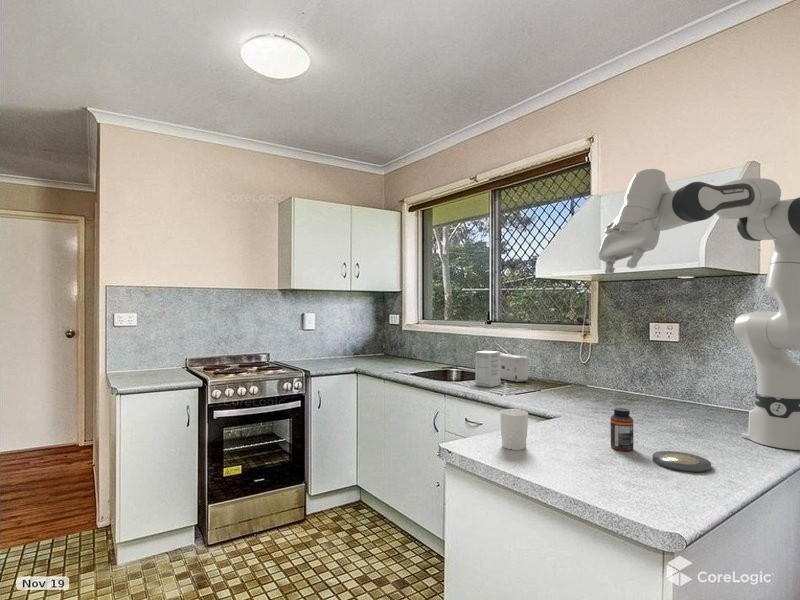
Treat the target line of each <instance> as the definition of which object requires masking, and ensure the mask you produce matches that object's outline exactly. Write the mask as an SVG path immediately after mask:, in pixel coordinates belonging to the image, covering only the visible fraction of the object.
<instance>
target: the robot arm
mask: <svg viewBox="0 0 800 600" xmlns="http://www.w3.org/2000/svg"><path fill="white" fill-rule="evenodd" d="M781 196H782V190H781V187H780V185H779V184H778V183H777V182H776V181H774V180H773V179H770V178H762V177H761V178H760V177H758V178H757V177H756V178H755V177H752V178H751V177H750V178H741V179H735V180H732V181H727V182H726V183H723V184H720V185H714V184H710V183H707V182H704V181H693V182H690V183H688V184H686V185H684V186H681V188H677V189H675V190H672V189H671V188H670V186H669V184H668V183H667V180H666V173H665V172H664V171H663V170H660V169H656V168H648V169H647V168H646V169H643V170H640V171H639V172H637V173H635V174H634V176H632V179H631V180H630V182H629V184H628V187H627V189H626V191H625V195H624V204H623V205H622V207H621V209H620V211H619V213H618V215H617V216H616V217H615V219H614V220H612V222H611V223H609V224H608V225H607V226H606V227H605V229H604V233H605V235H604V236H603V239H602V243H601V245H600V249H599V252H598V258H599V260H601V261H603V262H604V263H605V269H604V270H605V271H604V273H605V274H606V275H611V274H614V273H615V272H614V271H615V270H616V268H615V267H614V264H616V262H617V261H621V260H623V259H627V258H630V259H628V260H627V262H626V263H627V264H626V267H627V268H629V269H634V268H637V265H638V262H639V261H640V260H641V258H643V256H644V254H645V253H646V252H651V251H653V250H655V248H656V247H657V246H658V242H659V239H660V234H661V232H663V231H668V230H671V229H676V228H679V227H683V226H685V225H689V224H692V223H695V222H697V223H698V222H702V221H705V220H707V219H710V218H711V217H713V216H714V215H716V216H718V218H720V219H725V220H726V219H727V220H734V219H735V220H736V219H737V220H736V229H737V231H738V234H739V235H740V236H741V237H742V238H743V239H744V240H746V241H750V242H751V241H752V242H761V241H772V240H773V243H774V247H773V250H772V254H771V256H770V259H769V264H768V270H767V275H766V281H765V285H764V287H765V292H766V293H767V294H768V295H769V296H770V297H771V298H774V299H775V300H777V303H778V311H762V310H760V311H753V312H751V311H750V312H747V313H742V314H740V315H739V316H738V317H737V318H736V319H735V321H734V324H733V334H734V336H735V337H736V339H737V340H738V341H739V342H740V343H741V344H742V345H744V347H745V348H747V349H746V350H747V351H748V352H749V353H750V355H751V358H752V361H753V362H754V366H755V372H756V373H755V374H756V393H755V397H754V401H755V402H754V403H755V407H754V408H752V409H751V410H749V413H748V429H747V431H745V432H742V433H741V437H742V438H743V439H744V438H745V439H747V440H751V441H753V442H755V443H757V444H760V445H763V446H766V447H767V446H769V447H772V448H778V449H783V450H784V449H786V450H794V451H800V365H799V364H797V363H795V362H794V361H793V360H791V358H790V357H789V355H788V353H787V350H791V351H792V350H793V351H800V196H798V197H797V198H790V199H784V200H783V199H781Z"/></svg>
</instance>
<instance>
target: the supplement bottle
mask: <svg viewBox="0 0 800 600" xmlns="http://www.w3.org/2000/svg"><path fill="white" fill-rule="evenodd" d="M630 414H631V413H630V409H629V408H626V407H614V408H613V415H611V416H610V425H609V426H610V447H611V449H614V450H616V451H619V450H620V451H621V452H630V451H632V450H634V419H633V417H632V416H630Z"/></svg>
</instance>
